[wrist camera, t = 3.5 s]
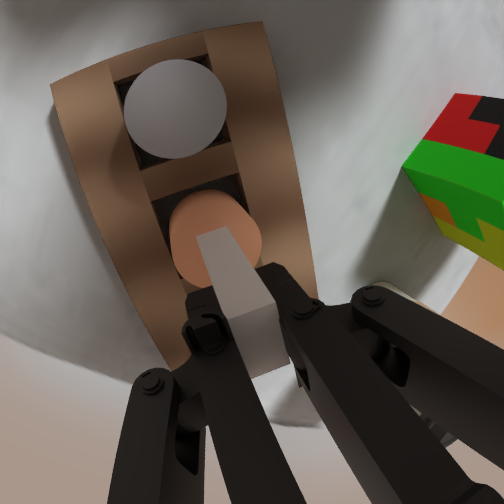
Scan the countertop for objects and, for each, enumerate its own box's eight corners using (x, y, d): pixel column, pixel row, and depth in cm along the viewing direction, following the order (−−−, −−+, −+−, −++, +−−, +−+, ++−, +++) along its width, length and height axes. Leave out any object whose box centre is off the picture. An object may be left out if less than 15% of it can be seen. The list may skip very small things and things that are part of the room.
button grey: (121, 86, 14) (112, 78, 11) (202, 61, 14) (213, 48, 11) (144, 162, 16) (140, 172, 13) (222, 137, 17) (237, 141, 14)
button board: (60, 87, 14) (49, 84, 12) (252, 29, 16) (262, 21, 14) (176, 364, 24) (178, 382, 22) (311, 314, 26) (322, 328, 24)
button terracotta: (158, 203, 17) (158, 223, 14) (233, 178, 18) (250, 192, 15) (183, 271, 19) (189, 300, 16) (251, 246, 20) (269, 271, 17)
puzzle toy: (487, 167, 26) (560, 195, 17) (442, 235, 27) (518, 280, 19) (454, 93, 21) (546, 107, 13) (401, 165, 23) (502, 202, 14)
